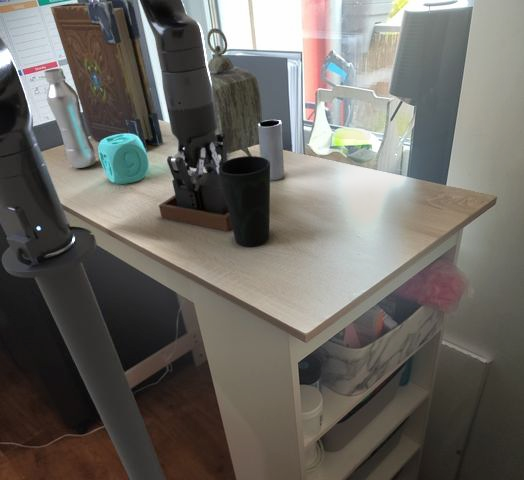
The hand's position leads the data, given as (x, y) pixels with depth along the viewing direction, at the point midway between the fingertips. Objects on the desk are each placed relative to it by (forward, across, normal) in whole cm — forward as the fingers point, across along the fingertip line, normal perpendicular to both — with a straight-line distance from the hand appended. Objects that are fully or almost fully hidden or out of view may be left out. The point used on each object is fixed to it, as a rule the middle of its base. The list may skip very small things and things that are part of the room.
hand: (207, 203), depth 85 cm
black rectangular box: (+1, 0, 0) cm, 1 cm away
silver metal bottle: (+2, +11, +44) cm, 46 cm away
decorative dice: (+2, +9, +28) cm, 30 cm away
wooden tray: (+2, 0, 0) cm, 2 cm away
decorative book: (+2, +28, +47) cm, 55 cm away
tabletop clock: (+2, +23, +10) cm, 25 cm away
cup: (+2, -5, -12) cm, 14 cm away
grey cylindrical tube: (+2, +19, -3) cm, 19 cm away
